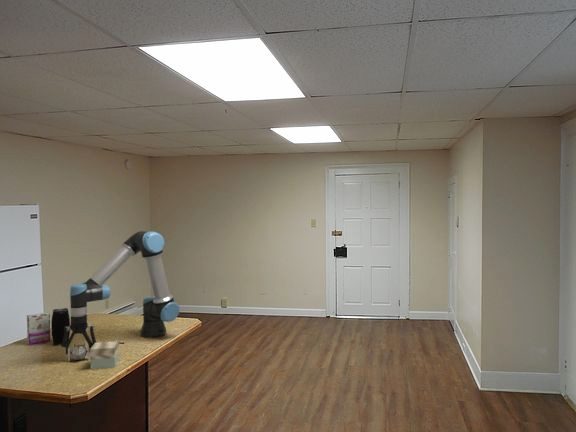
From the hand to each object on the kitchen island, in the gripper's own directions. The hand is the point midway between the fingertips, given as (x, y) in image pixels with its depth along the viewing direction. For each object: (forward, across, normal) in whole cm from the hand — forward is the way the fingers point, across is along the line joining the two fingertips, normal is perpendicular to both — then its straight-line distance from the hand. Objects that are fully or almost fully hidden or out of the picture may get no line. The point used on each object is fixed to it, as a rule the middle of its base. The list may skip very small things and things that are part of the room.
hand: (79, 359), depth 227 cm
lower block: (+1, -14, +10) cm, 17 cm away
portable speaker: (0, +17, -32) cm, 36 cm away
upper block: (-4, -14, +10) cm, 18 cm away
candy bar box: (0, +30, -37) cm, 48 cm away
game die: (0, 0, 0) cm, 0 cm away
